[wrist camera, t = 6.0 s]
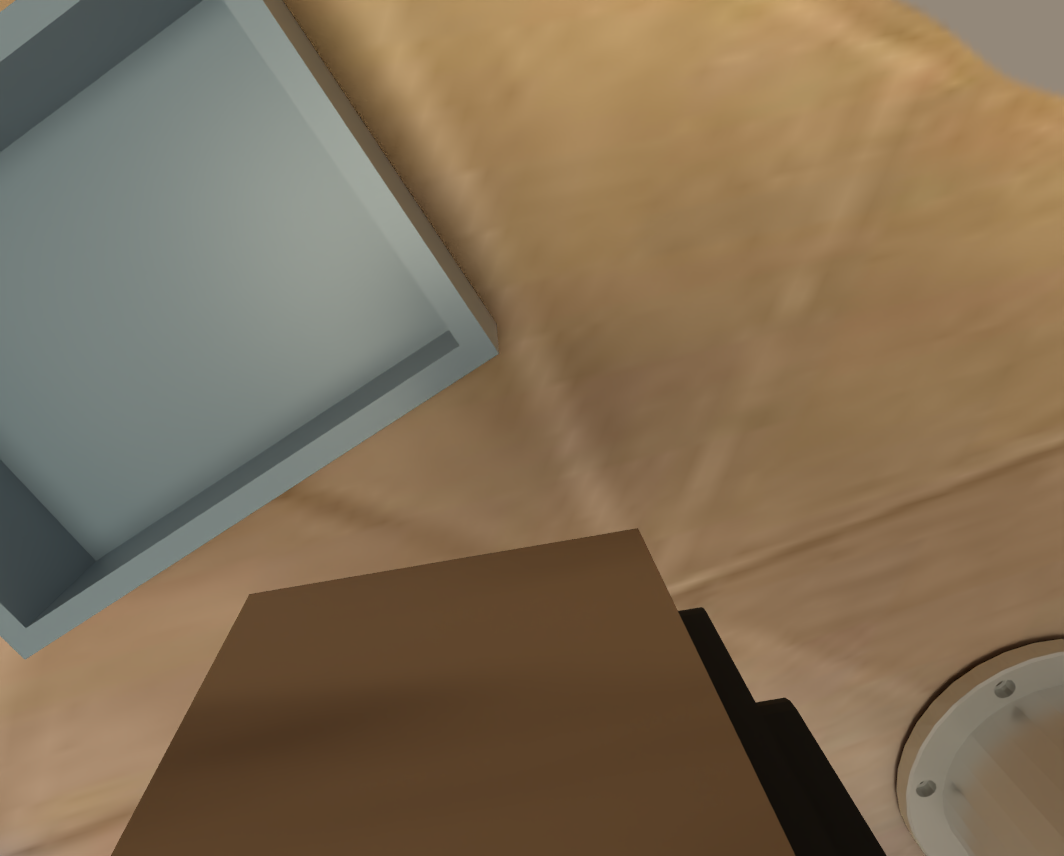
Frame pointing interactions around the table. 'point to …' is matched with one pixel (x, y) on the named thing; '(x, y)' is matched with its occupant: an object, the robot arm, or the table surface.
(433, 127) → the table surface
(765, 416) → the table surface
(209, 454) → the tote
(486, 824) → the walnut cube
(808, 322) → the table surface
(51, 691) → the table surface
